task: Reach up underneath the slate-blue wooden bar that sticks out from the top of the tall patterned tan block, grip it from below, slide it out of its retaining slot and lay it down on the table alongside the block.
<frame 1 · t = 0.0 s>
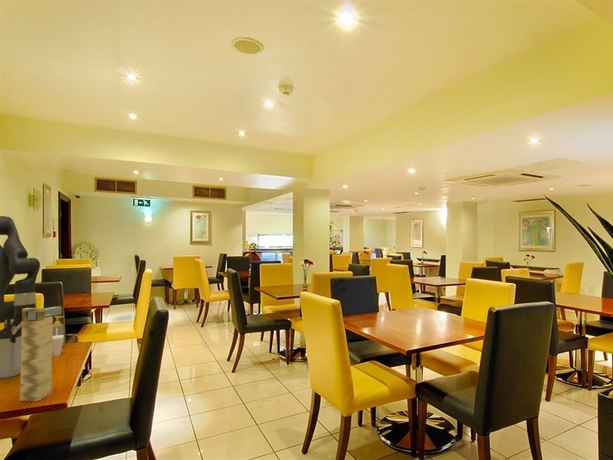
hand: (25, 340, 148), 17 cm above the table, tool pointing down, fingers open, 8 cm apart
bar: (45, 316, 136), point 30 cm above the table, touching tall patterned tan block
soap bottle: (56, 348, 190), on the table
smoothie: (56, 355, 180), on the table
tall patterned tan block: (35, 397, 131), on the table
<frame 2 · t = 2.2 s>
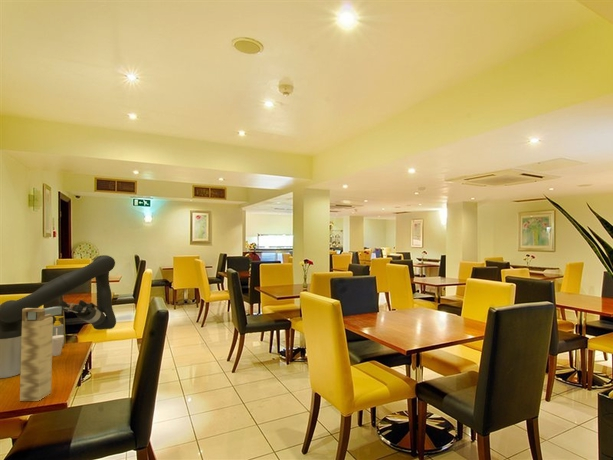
hand: (70, 302, 153), 33 cm above the table, tool pointing upward, fingers open, 8 cm apart
nothing on the table moved.
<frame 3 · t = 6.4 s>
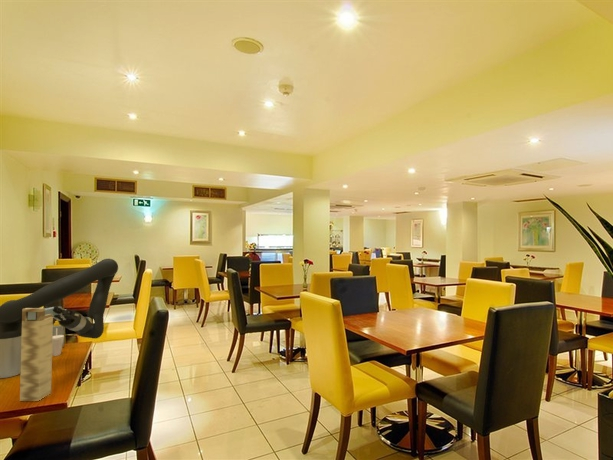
hand: (50, 308, 139), 33 cm above the table, tool pointing upward, fingers closed on bar, 3 cm apart
bar: (45, 316, 136), point 30 cm above the table, touching gripper, tall patterned tan block
everything else where it was.
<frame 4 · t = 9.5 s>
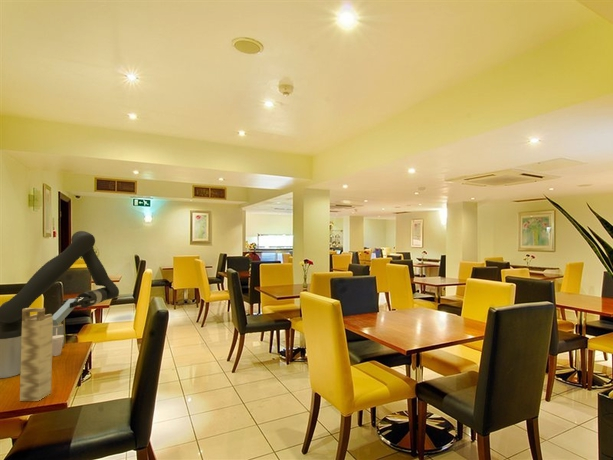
hand: (66, 305, 149), 32 cm above the table, tool horizontal, fingers closed on bar, 3 cm apart
bar: (64, 314, 148), point 29 cm above the table, tilted 26°, touching gripper
everything else where it was.
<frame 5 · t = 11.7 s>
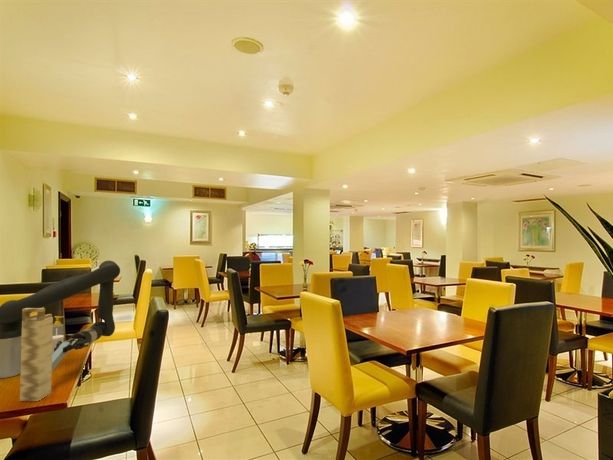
hand: (59, 350, 144), 14 cm above the table, tool horizontal, fingers closed on bar, 3 cm apart
bar: (57, 359, 143), point 10 cm above the table, tilted 26°, touching gripper
everything else where it was.
when the fingers open (7 cm above the table, at t = 13.4 s): bar drops 4 cm, on the table.
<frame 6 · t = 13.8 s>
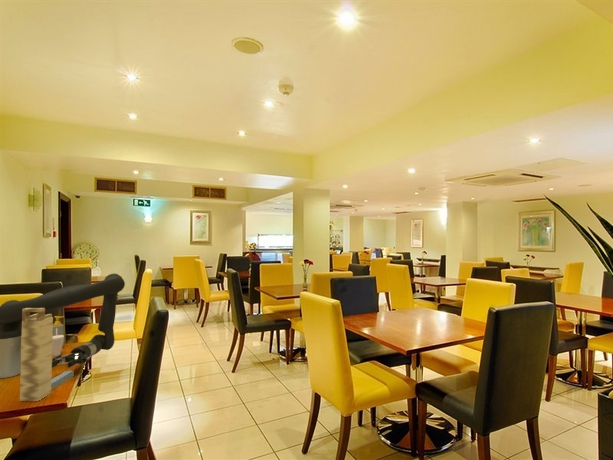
hand: (59, 365, 145), 8 cm above the table, tool horizontal, fingers open, 6 cm apart
bar: (58, 384, 144), on the table
everything else where it was.
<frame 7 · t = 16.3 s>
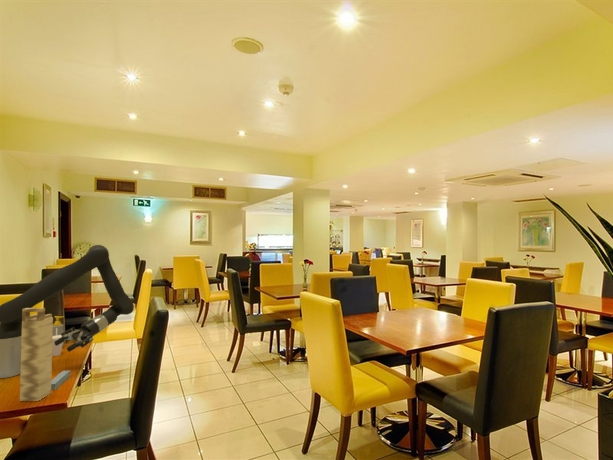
hand: (61, 347, 152), 13 cm above the table, tool tilted 70°, fingers open, 8 cm apart
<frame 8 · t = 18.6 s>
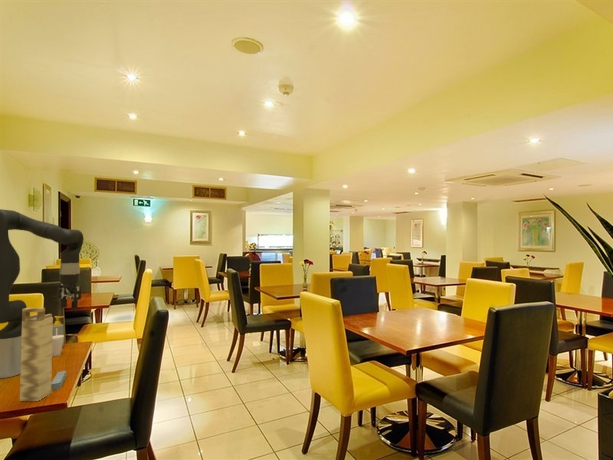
hand: (69, 308, 154), 30 cm above the table, tool pointing down, fingers open, 8 cm apart
at the end: bar inside the target area (1.4 cm from its centre), on the table; bar touching table; the gripper is holding nothing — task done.
